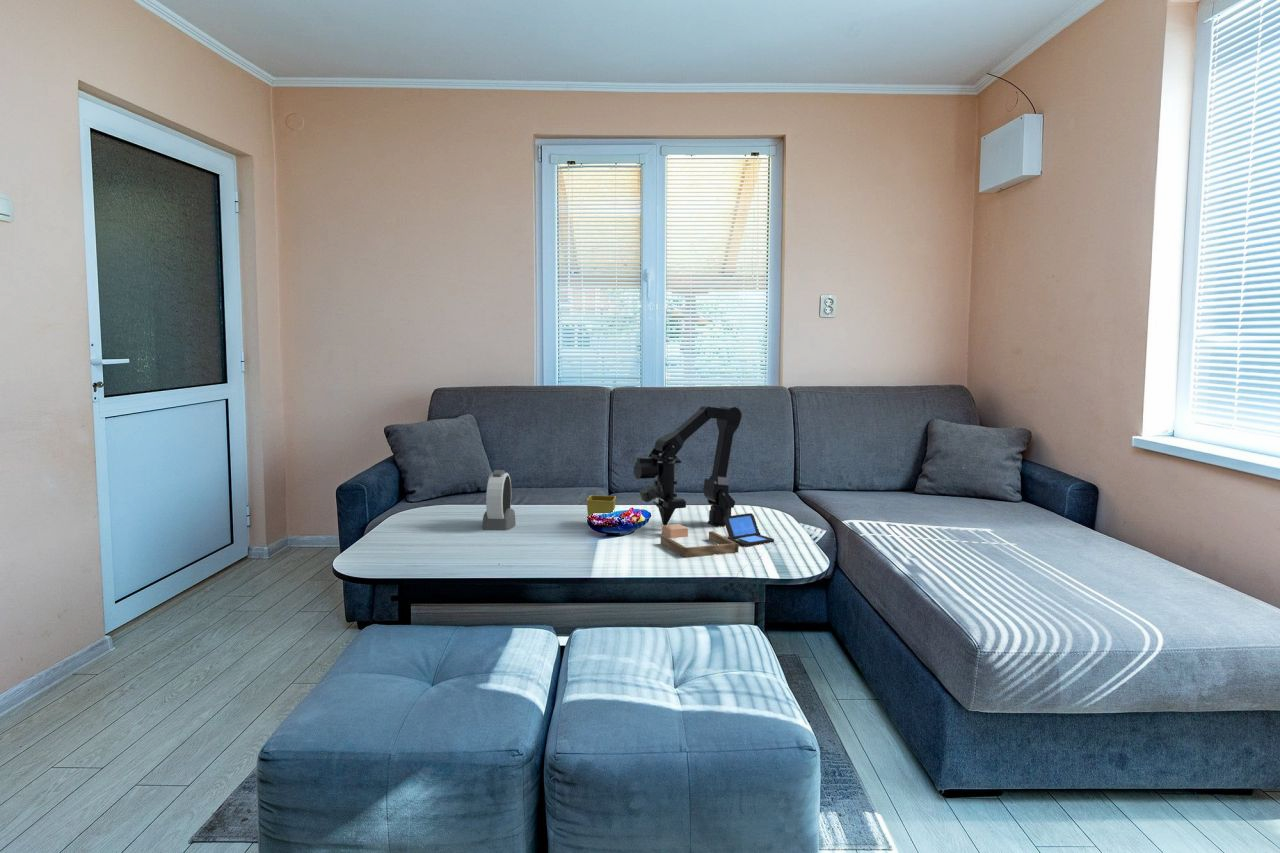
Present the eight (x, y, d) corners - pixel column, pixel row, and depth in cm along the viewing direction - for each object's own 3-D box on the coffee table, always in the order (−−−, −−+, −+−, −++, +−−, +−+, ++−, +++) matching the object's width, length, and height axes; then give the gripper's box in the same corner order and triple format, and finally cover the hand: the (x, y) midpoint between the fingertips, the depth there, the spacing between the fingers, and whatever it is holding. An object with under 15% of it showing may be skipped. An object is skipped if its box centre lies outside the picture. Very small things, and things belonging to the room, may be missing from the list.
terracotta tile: (679, 533, 249) (679, 524, 249) (687, 537, 244) (688, 528, 243) (662, 534, 247) (662, 525, 246) (670, 539, 241) (670, 529, 241)
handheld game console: (745, 548, 232) (746, 523, 231) (721, 540, 240) (722, 516, 240) (775, 542, 239) (776, 518, 238) (751, 535, 248) (752, 512, 247)
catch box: (712, 539, 241) (712, 531, 240) (738, 552, 226) (738, 543, 225) (660, 543, 234) (660, 535, 234) (684, 557, 219) (684, 548, 219)
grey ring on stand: (510, 532, 246) (510, 474, 244) (477, 531, 246) (477, 474, 244) (519, 520, 262) (519, 466, 260) (488, 519, 262) (488, 466, 260)
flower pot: (616, 522, 262) (616, 495, 261) (612, 528, 253) (613, 500, 252) (590, 521, 263) (590, 494, 262) (585, 527, 254) (586, 499, 253)
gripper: (631, 473, 256) (631, 520, 258) (654, 483, 239) (653, 533, 240) (662, 472, 260) (661, 518, 262) (687, 481, 243) (686, 530, 245)
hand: (664, 525), depth 252 cm, fingers closed
